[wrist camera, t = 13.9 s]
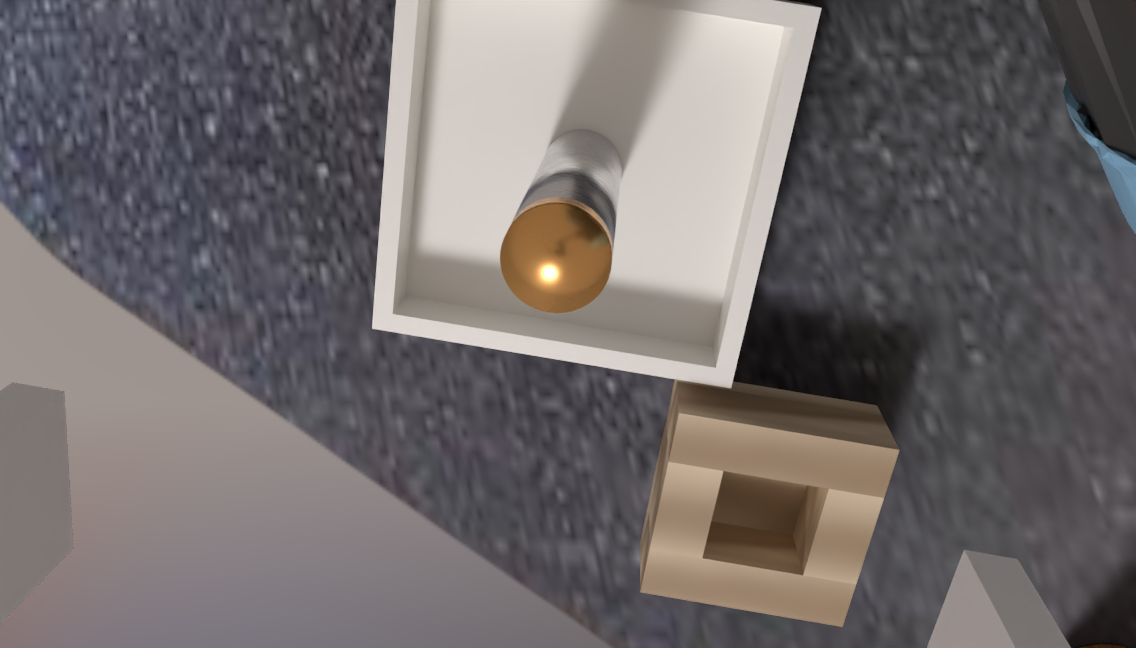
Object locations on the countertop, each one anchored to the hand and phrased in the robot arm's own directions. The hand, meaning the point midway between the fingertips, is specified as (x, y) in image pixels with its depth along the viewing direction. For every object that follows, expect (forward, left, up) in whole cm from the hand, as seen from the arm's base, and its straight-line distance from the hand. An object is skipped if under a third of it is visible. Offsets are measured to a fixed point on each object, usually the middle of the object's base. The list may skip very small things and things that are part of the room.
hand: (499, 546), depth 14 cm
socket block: (+13, +10, -27) cm, 31 cm away
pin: (0, 0, -26) cm, 26 cm away
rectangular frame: (0, 0, -27) cm, 27 cm away
